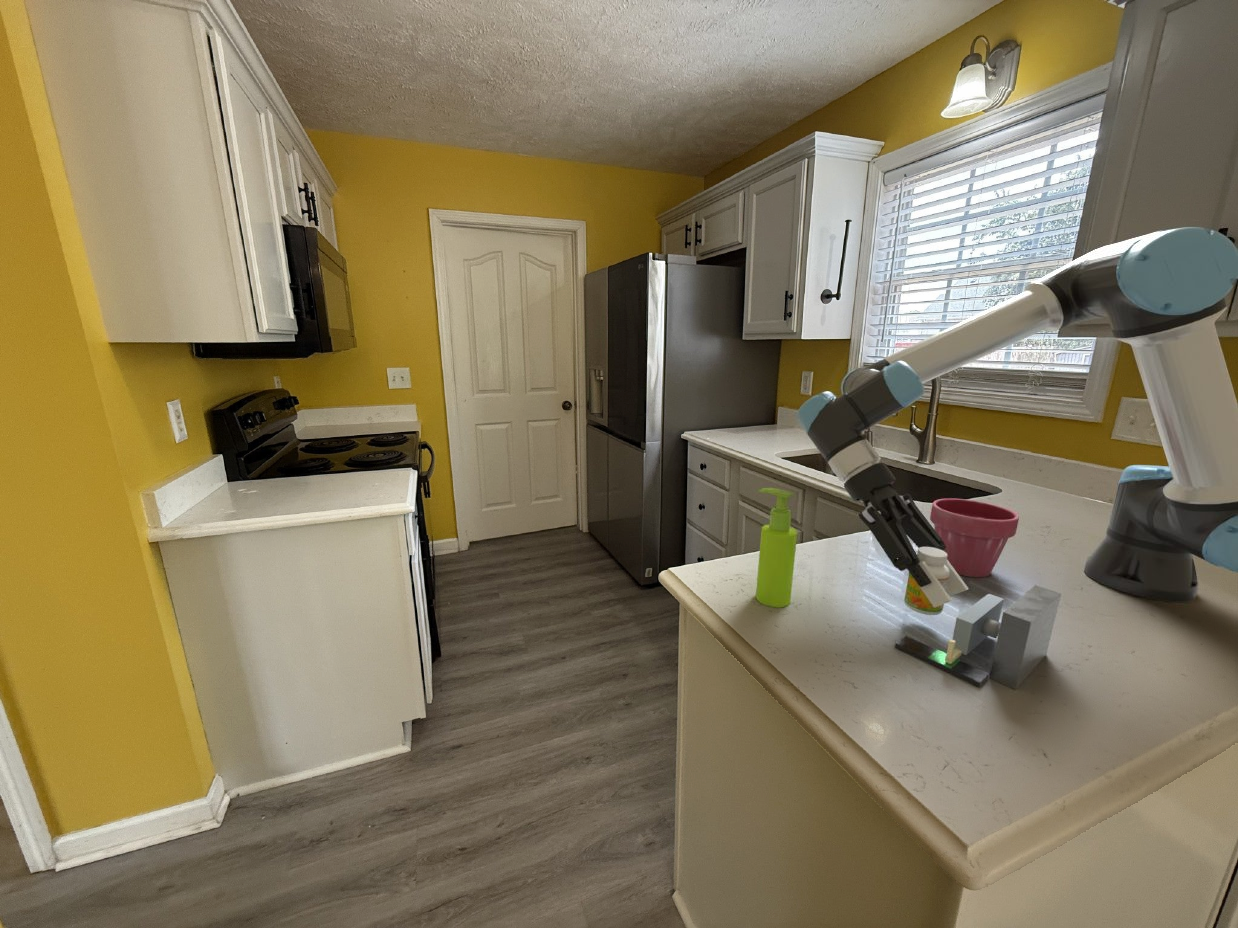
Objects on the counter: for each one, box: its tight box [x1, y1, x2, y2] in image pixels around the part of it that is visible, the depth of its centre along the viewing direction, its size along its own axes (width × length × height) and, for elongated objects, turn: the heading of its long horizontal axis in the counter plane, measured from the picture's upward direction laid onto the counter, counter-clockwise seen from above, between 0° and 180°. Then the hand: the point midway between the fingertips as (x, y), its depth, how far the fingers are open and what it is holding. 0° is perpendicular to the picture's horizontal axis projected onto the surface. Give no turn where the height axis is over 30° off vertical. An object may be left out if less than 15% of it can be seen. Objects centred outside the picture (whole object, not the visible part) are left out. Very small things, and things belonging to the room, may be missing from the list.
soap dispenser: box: [755, 487, 798, 608], centre depth 87 cm, size 6×7×20 cm
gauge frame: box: [894, 584, 1062, 690], centre depth 73 cm, size 14×16×10 cm
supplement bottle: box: [903, 547, 950, 616], centre depth 80 cm, size 5×5×10 cm
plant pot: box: [929, 498, 1020, 578], centre depth 101 cm, size 14×14×13 cm
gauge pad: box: [945, 593, 1004, 664], centre depth 73 cm, size 4×16×5 cm, turn 126°
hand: (951, 597), depth 77 cm, fingers closed on supplement bottle, 5 cm apart
